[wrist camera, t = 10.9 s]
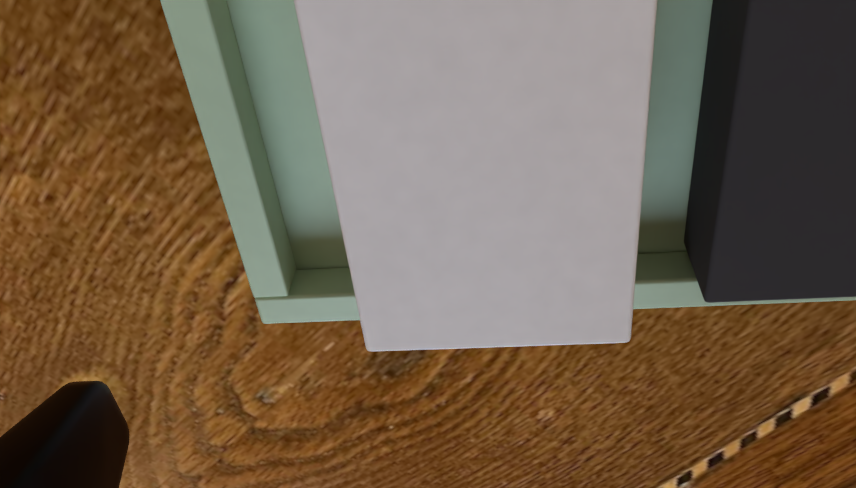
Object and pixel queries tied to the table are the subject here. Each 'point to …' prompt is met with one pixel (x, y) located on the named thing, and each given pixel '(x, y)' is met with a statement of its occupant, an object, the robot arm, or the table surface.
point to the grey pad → (485, 164)
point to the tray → (309, 174)
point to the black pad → (776, 153)
